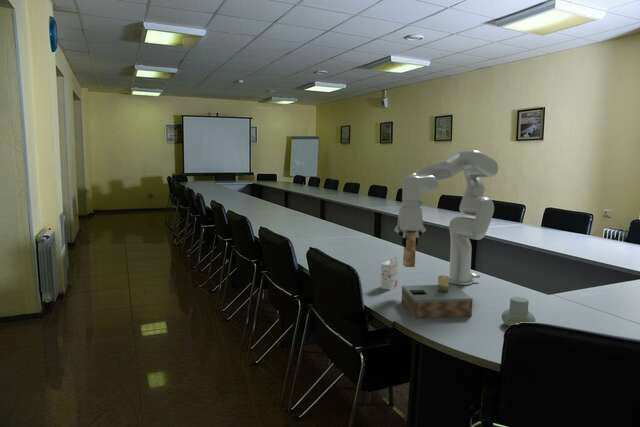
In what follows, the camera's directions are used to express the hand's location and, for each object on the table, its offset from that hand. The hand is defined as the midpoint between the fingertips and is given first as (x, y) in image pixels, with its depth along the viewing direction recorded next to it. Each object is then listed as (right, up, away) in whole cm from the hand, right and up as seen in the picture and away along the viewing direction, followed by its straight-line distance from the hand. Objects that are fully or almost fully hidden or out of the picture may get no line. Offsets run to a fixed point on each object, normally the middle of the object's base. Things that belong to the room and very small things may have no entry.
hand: (409, 246), depth 185 cm
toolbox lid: (+7, -18, -16) cm, 25 cm away
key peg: (0, -9, +1) cm, 9 cm away
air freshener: (+32, -26, -33) cm, 53 cm away
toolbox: (+7, -24, -15) cm, 29 cm away
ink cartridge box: (-7, -20, +13) cm, 25 cm away
